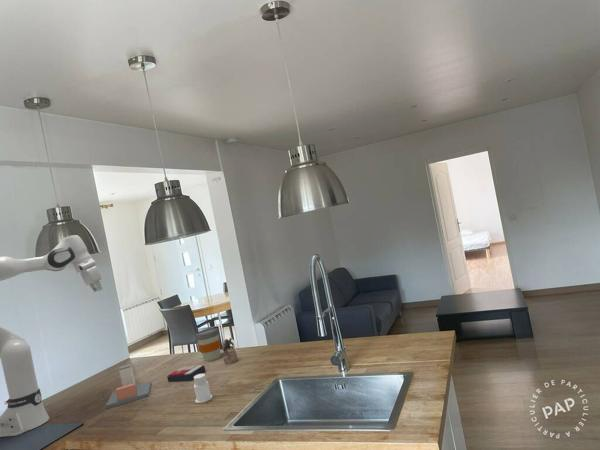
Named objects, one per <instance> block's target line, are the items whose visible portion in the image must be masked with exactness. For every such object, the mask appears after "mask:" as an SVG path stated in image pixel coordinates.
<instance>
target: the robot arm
mask: <svg viewBox="0 0 600 450" xmlns="http://www.w3.org/2000/svg"><path fill="white" fill-rule="evenodd" d="M69 264H72V265H73V266H72V267H74V270H75V271H76V273H77V274H78V273H80V277H82V280H83V283H84V284H85V285H86V286H89V287H90V288H91V289H92V290H93V292H94V293H95V292H96V293H97V292H98V291H99V292H100V291H103V287H102V284H101V281H100V280H102V276H101V273H100V270H99V269H98V267H97V262H96V261H95V259H93V257H92V256H91V254H90V253H89V251H88V248H87V246H86V244H85V242H84V240H83V239H82V238H81V237H80V236H79V235H77V234H71V235H67V236H64V237H62V238H61V239H60V241H59V242H58V244H57V245H56V246H55V247H54V248H53V249H51V251H49V252H48V253H47V254H45V255H42V256H37V257H28V258H22V259H21V258H14V257H11V256H5V255H4V256H2V255H1V256H0V282H1V281H2V282H3V281H5V280H7V279H11V278H14V277H16V276H18V275H21V274H25V273H30V272H35V271H36V272H37V271H45V270H46V271H53V272H59V271H62V270H64V269H66V267H67V266H68V265H69ZM32 355H33V354H32V350H31V346H30V345H29V344H28V342H27V341H26V340H25V339H24V338H22V337H20V336H19V335H17V334H14V333H13V332H11V331H9V330H7V329H5V328H4V327H1V326H0V362H1V366H2V371H3V375H4V379H5V384H6V389H7V393H8V400H6V401H4V405H7V408H6V409H5V411H3V413H2V414H1V415H0V438H2V437H15V436H19V435H21V434H23V433H25V432H28V431H30V430H33V429H35V428H38V427H40V426H41V425H43V424H45V423H46V422H47V423H48V421H49V420H50V416H49V415H48V412H47V410H46V408H45V406H44V403H43V401H42V400H43V399H42V393H41V389H40V388H39V385H38V380H37V377H36V376H37V375H36V371H35V365H34V359H33V356H32Z"/></svg>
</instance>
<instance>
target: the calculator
mask: <svg viewBox="0 0 600 450" xmlns="http://www.w3.org/2000/svg"><path fill="white" fill-rule="evenodd" d="M206 372H207V371H206V367H205V365H190V366H182V367H180V368H177V370H175V371H173V372H170V373H169V374H168V375H167V377H166V378H167V382H168V383H176V382H179V383H180V382H194V376H196V375H198V374H206Z"/></svg>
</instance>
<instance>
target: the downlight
mask: <svg viewBox="0 0 600 450" xmlns="http://www.w3.org/2000/svg"><path fill="white" fill-rule="evenodd" d="M193 382H194V385H193V388H194V393H195V398H196V399H195V400H194V402H195V403H197V404H202V403H206V402H209V401H210V400H211V399H213V395H212V394H211V389H210V384H209V381H207V377H206V373H203V374H198V375H196V376H194V380H193Z"/></svg>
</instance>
